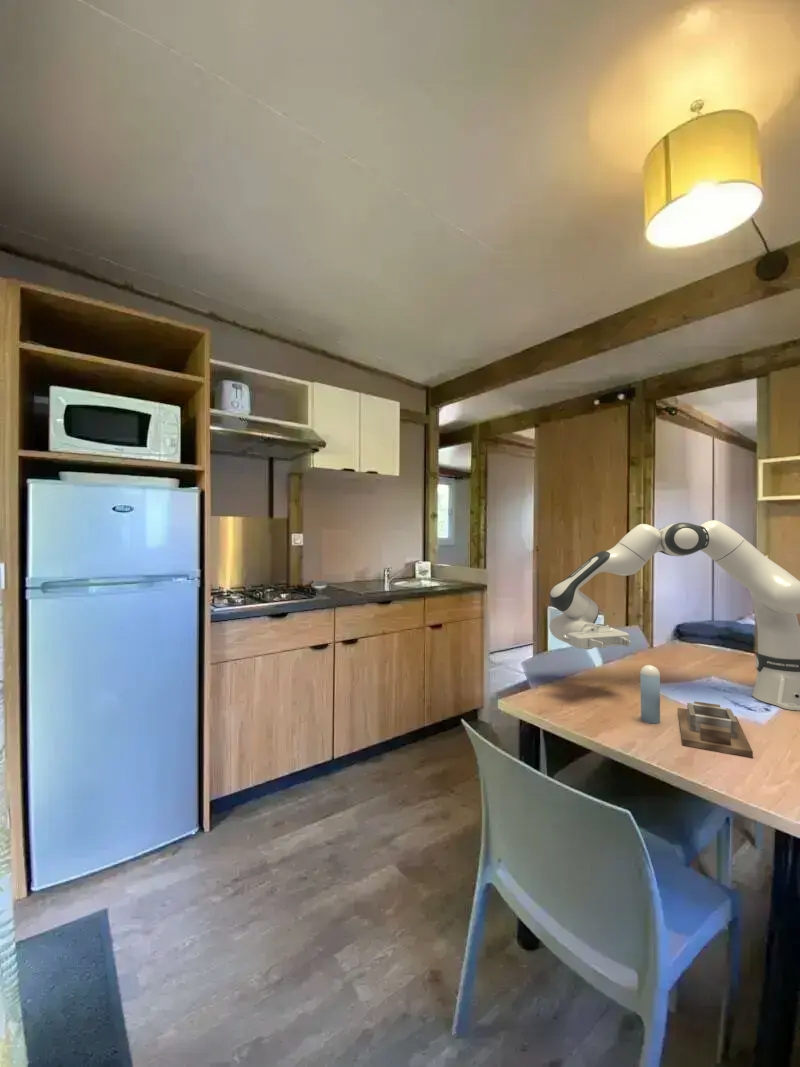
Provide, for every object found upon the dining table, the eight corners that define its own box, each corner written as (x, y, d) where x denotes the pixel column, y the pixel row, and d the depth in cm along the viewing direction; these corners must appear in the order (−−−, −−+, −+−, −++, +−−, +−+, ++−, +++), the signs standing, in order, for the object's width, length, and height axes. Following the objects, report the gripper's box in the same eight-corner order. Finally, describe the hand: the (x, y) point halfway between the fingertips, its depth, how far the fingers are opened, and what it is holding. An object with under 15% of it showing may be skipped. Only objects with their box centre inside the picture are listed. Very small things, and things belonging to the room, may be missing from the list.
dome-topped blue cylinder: (660, 718, 131) (659, 664, 131) (660, 724, 127) (659, 668, 127) (641, 715, 133) (640, 662, 133) (640, 721, 129) (640, 666, 129)
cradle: (736, 721, 129) (736, 701, 129) (752, 758, 108) (752, 734, 108) (677, 712, 135) (677, 693, 135) (682, 745, 114) (682, 722, 114)
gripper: (559, 627, 152) (588, 636, 138) (610, 624, 158) (642, 632, 145) (559, 646, 152) (588, 657, 138) (609, 642, 158) (642, 652, 145)
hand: (616, 644), depth 142 cm, fingers open, 8 cm apart
